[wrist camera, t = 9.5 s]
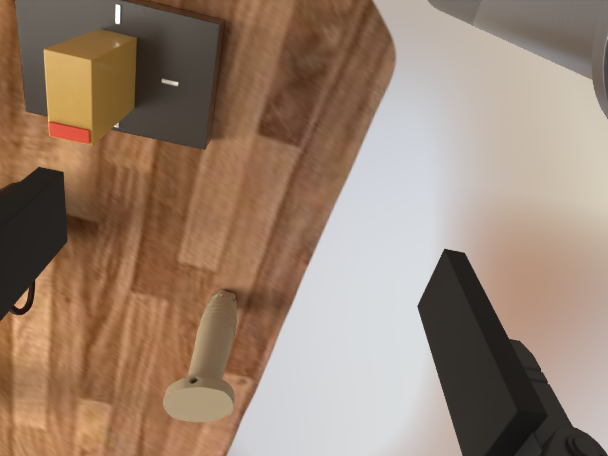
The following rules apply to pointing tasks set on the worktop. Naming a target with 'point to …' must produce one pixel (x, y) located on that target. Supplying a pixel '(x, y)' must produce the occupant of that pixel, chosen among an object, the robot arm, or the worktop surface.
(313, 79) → the worktop surface
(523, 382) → the robot arm
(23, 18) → the plate
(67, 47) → the thumbturn
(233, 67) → the worktop surface
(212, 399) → the handle
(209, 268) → the worktop surface
